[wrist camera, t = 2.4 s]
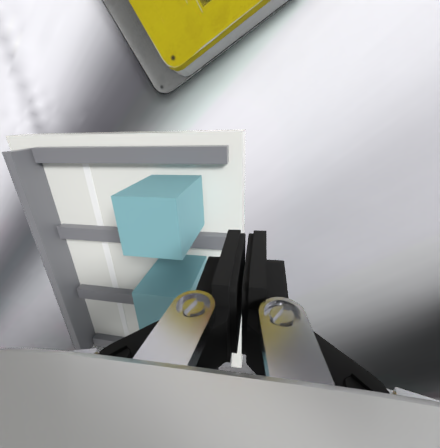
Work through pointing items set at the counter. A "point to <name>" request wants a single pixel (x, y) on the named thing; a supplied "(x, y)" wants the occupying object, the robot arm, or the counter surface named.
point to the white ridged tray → (105, 218)
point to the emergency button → (185, 32)
